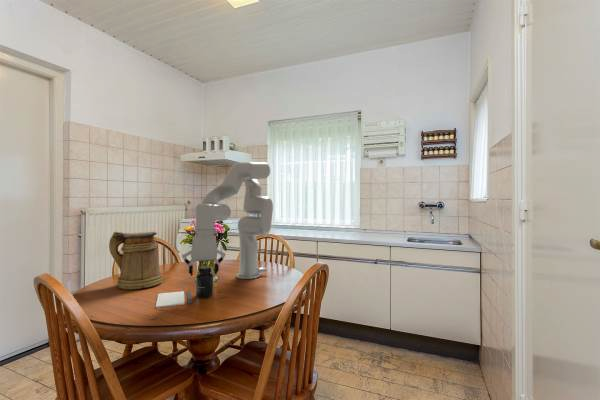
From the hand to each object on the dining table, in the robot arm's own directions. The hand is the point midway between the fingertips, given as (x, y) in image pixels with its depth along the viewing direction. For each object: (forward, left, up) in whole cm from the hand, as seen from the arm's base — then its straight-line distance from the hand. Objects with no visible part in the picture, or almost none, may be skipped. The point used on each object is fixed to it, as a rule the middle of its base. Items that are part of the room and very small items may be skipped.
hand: (203, 274), depth 123 cm
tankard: (+29, -29, -9) cm, 41 cm away
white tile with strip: (+11, -1, -9) cm, 14 cm away
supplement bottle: (0, -1, -9) cm, 9 cm away
